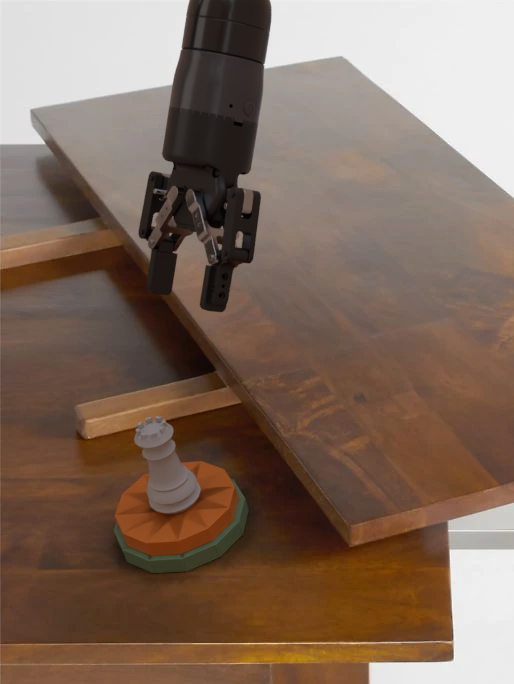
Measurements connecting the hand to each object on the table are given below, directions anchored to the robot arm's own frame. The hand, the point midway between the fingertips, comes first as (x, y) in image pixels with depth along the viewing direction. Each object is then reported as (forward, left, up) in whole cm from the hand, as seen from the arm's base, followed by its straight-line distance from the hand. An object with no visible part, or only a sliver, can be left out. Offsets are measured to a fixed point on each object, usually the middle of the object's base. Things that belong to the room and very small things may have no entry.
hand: (184, 302), depth 118 cm
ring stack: (-1, -12, -15) cm, 19 cm away
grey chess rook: (-1, -12, -12) cm, 17 cm away
